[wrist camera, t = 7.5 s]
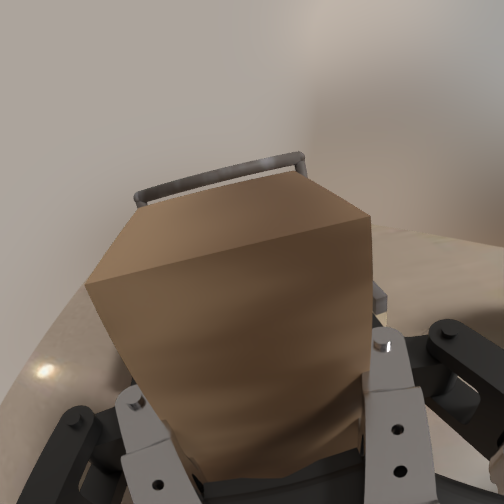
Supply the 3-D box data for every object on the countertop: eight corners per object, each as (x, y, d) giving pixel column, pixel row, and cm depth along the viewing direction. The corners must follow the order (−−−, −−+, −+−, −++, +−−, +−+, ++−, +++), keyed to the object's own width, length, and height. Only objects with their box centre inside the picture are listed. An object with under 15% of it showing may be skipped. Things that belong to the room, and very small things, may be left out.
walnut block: (239, 516, 10) (84, 284, 5) (228, 433, 14) (138, 208, 9) (353, 489, 10) (370, 215, 5) (322, 410, 15) (294, 170, 10)
